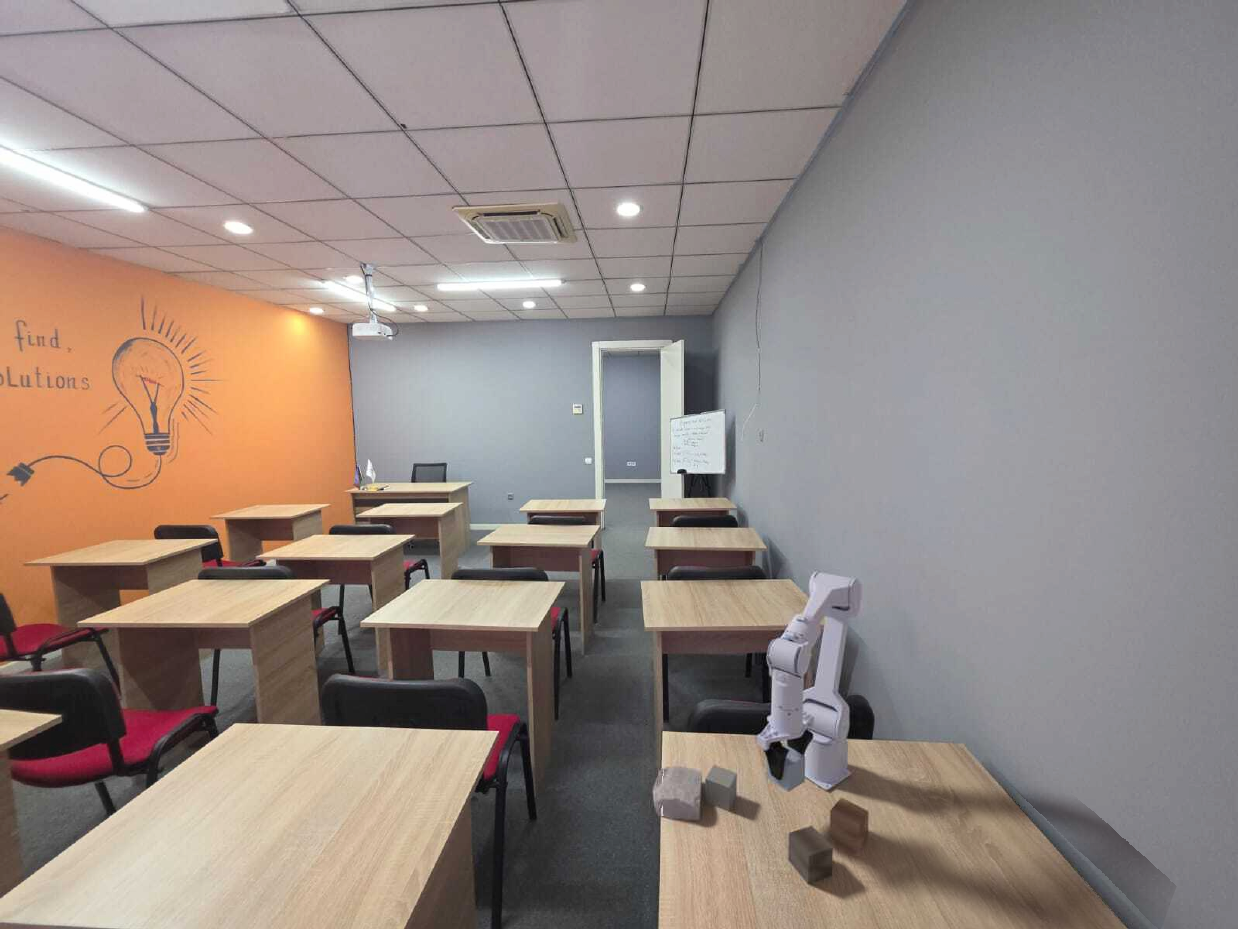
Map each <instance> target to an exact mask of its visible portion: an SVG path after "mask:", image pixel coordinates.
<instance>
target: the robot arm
mask: <svg viewBox="0 0 1238 929" xmlns="http://www.w3.org/2000/svg"><path fill="white" fill-rule="evenodd" d="M810 576H811V577H810V579H809V582H808V583H809V584H808V591H809V599H808V600H807V603H806V605H805V608H804V610H803V612H802V613H797V614H795V615H794V616H793V618H792V619H791V621H790V622H789V624H788V625H787V627H786V628H785V630H784V632H783V633H782V635H781V636H780V637H777V638H776V639H775V638H773V639H772V640H771V641H770V643H769V645H768V648H767V654H766V663H767V664H766V665H767V666H768V671H769V672H768V675H769V677H771V704H770V705H771V710H770V715H768V716H767V717H766V720H767V722H768V723H767V725H766V726H765V727H764V729H763V730H762V731H761V732H760V733H759V734H757V735H756V738H757V739H756V740H757V741H756V742H757V743H756V745H757V746H758V747H759V748H760V749H762V750H763V753H764V754H765V757H766V762H767V761H768V764H769V769H770V773H771V775H772V776H773V777H774V778H776V779H777V780H779V781H780V780H782V777H783V771H784V763H785V759H786V756H787V754H788V752H789V751H790V750H788V749H787V748H785V747H783V746H782V744H783V743H782V741H786V745H787V746H789V747H791V748H792V749H794V750H795V751H797V752H799V753H800V754H802V755H803V756H805V778H806V779H808V781H811V782H812V783H814V784H815V785H817V786H818V787H820V788H821V789H822V790H824V791H829V790H832V789H833V787H835V786H837V785H838V784H840V783H841V782H842V781H844V780H845V779H846V778H848V777H850V776H851V775H852V772H851V771H850V770H849V769H848V764H849V763H848V760H849V759H848V758H849V744H848V740H847V738H848V735H849V730H850V711H851V710H850V706H849V705H848V703H847V702H846V700H845V699H844V698H843V697H842V695H841V694H840V693H839V688H840V687H839V686H840V681H841V673H842V668H843V661H844V654H845V648H846V647H845V646H846V641H847V636H848V635H847V634H848V633H847V632H848V628H849V623H850V621H851V618H855V617H859V612H860V608H861V600H862V594H863V590H862V585H861V582H860V580H859V579H858V578H855V577H854V578H852V577H848V576H841V575H836V574H831V573H826V572H821V571H820V570H819V571H814V572H813V573H812V574H811V575H810ZM824 618H825V619H824ZM823 620H825V621H824V625H823V626H824V627H823V633H822V639H821V645H820V650H819V657H818V663H817V669H816V675H815V676H816V677H815V681H814V686H811V687H810V688H807V689H804V684H805V683H804V680H805V675H806V674H807V672H808V670H809V667H810V666H809V665H810V661H811V659H812V656H813V655H812V649H813V648H814V647H815V646H814V645H815V644H816V643H817V640H818V639H819V637H820V635H821V632H822V628H821V626H820V623H822V621H823Z"/></svg>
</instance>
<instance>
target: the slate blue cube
mask: <svg viewBox="0 0 1238 929" xmlns="http://www.w3.org/2000/svg"><path fill="white" fill-rule="evenodd" d="M782 746H783V747H785V748H787V749H788V750H790V751H789V752H788V754H787V756H786V759H785V763H784V771H783V777H782V780H780V781H779V780H777V779H776V778H774V777H773V776H772V775H771V773H770V769H769V764H768V761H767V760H766V775H765V776H766V778H767V779H768V780H770V781H771V782H773V783H774V784H776V785H777V786H779V787H780V788H781V789H783V790H784V791H786V792H787V793H790V792H791V791H793V790H794V789H795V788H797V787H799V786H800V785H802V784H804V783H806V779H805V778H806V777H805V756H803V755H802V754H800V753H799V752H797V751H795V750H794V749H792V748H791V747H789V746H787V743H782Z"/></svg>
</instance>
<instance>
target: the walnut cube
mask: <svg viewBox="0 0 1238 929" xmlns="http://www.w3.org/2000/svg"><path fill="white" fill-rule="evenodd" d="M869 812H870V811H869V810H867V809H865V808H863V807H861V806H859V805H857V804H856V803H854V802H852V801H850V800H848V799H846V798H844V797H841V796H840V798H839V799H838V800H837V802H836V803H835V804H834V805H833V806H832V808H831V809H830V811H829V837H831V838H833V839H835V840H836V841H838V842H839V843H841V844H843V845H845V846H846V847H848V848H849V849H851V850H852V851H853V852H854V851H855V852H856V853H859V851H860V850H861V848H862V846H863V845H864V844H865V842H866V840H867V839H868V837H869Z"/></svg>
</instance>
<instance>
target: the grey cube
mask: <svg viewBox="0 0 1238 929" xmlns="http://www.w3.org/2000/svg"><path fill="white" fill-rule="evenodd" d="M737 779H738V773H737V772H734V771H732V770H729V769H727V768H723V767H721V766H718V765H715V764H713V765H712V767H711V769H710V770H709V771H708V773H707V775H706V777H705V778H704V803H707V804H708V805H711V806H713V807H716V808H719V809H721V810H724V811H726V812H730V811H731V808H732V806H733V804H734V802H735V800H736V798H737V793H738V792H737V789H738V788H737V784H738V782H737V781H738V780H737Z"/></svg>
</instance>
